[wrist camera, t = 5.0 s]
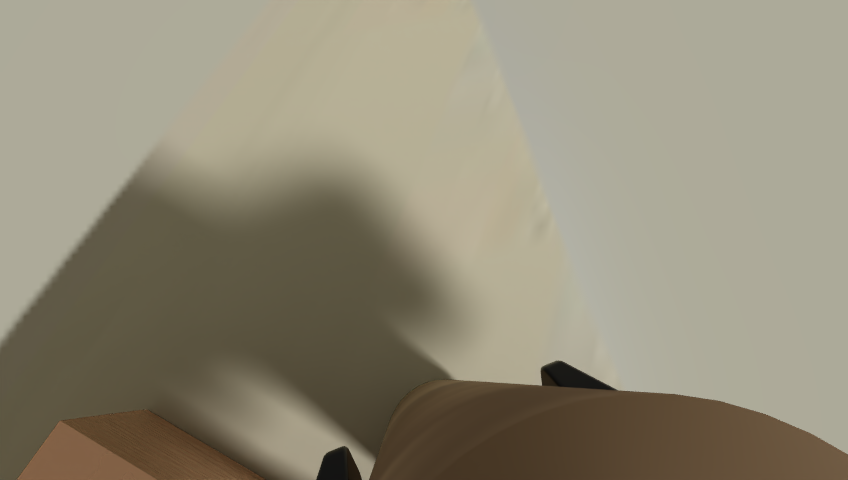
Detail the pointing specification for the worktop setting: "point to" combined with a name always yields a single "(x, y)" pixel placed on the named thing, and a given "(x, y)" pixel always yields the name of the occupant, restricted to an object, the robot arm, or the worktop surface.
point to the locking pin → (591, 437)
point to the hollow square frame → (128, 452)
